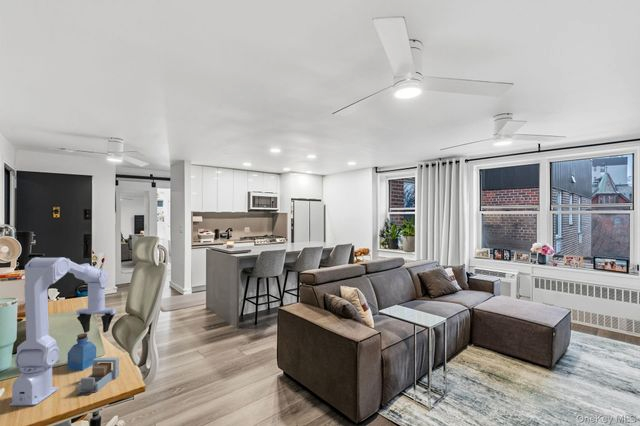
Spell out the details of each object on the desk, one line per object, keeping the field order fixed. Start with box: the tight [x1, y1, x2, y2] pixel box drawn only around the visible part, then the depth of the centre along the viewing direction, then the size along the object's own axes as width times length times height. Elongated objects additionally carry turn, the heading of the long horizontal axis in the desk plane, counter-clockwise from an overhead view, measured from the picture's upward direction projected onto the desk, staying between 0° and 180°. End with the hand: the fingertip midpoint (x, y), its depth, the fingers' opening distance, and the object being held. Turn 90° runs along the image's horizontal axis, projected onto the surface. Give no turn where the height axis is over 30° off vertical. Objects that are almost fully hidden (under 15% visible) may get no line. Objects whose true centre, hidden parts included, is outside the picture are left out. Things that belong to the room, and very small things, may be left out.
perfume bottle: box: [67, 332, 97, 371], centre depth 122 cm, size 6×6×12 cm
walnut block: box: [91, 362, 112, 377], centre depth 111 cm, size 4×4×4 cm
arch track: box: [77, 357, 121, 396], centre depth 110 cm, size 16×8×7 cm, turn 2°
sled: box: [80, 369, 113, 391], centre depth 109 cm, size 10×4×4 cm, turn 2°
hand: (96, 331), depth 130 cm, fingers open, 7 cm apart
